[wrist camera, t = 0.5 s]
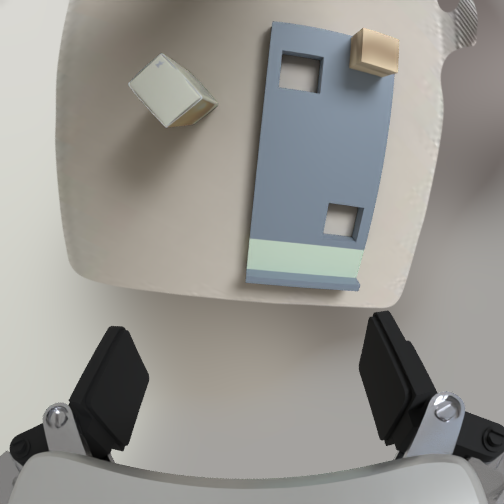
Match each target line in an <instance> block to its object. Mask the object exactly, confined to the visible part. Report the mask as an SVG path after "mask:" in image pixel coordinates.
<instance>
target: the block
mask: <svg viewBox="0 0 504 504" xmlns="http://www.w3.org/2000/svg"><path fill="white" fill-rule="evenodd" d="M398 58H399V39H396V38H393V37H390V36H388V35H385V34H382V33H379V32H376V31H372V30H369V29H366V28H362V29H361V30H360V31H359V32H357V33H356V34H355V35H354V36H353V37H351V50H350V63H349V68H351V69H355V70H358V71H362V72H366V73H369V74H373V75H376V76H380V77H385V76H388V75H392V74H395V73H398Z"/></svg>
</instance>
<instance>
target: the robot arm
mask: <svg viewBox="0 0 504 504" xmlns="http://www.w3.org/2000/svg"><path fill="white" fill-rule="evenodd" d="M359 372H360V375H361V378H362V381H363V385H364V387H365V391H366V394H367V397H368V400H369V404H370V407H371V410H372V414H373V417H374V420H375V424H376V427H377V431H378V435H379V438H380V440H385V444H386V446H388V445H392V444H395V446H396V449H397V450H398V452H397V453H396V455H395V457H394V459H393V460H392V461H388V462H383V463H379V464H375V465H370V466H366V467H360V468H356V469H350V470H344V471H338V472H332V473H326V474H318V475H310V476H300V477H289V478H272V479H222V478H205V477H194V476H184V475H176V474H168V473H162V472H155V471H150V470H144V469H139V468H134V467H130V466H125V465H120V464H116V463H115V462H114V460H113V458H112V456H111V454H110V452H111V449H115V450H120V451H124V447H125V446H126V445H128V444H129V441H130V438H131V435H132V431H133V428H134V424H135V422H136V419H137V415H138V412H139V409H140V406H141V403H142V400H143V397H144V394H145V391H146V388H147V385H148V382H149V374H148V372H147V370H146V368H145V366H144V364H143V362H142V360H141V358H140V355H139V353H138V351H137V349H136V347H135V345H134V342H133V340H132V338H131V335H130V333H129V331H127V330H125V328H124V327H120V326H111V327H109V328H108V330H107V331H106V333H105V335H104V336H103V338H102V340H101V342H100V343H99V345H98V347H97V349H96V350H95V352H94V354H93V356H92V358H91V360H90V361H89V363H88V365H87V367H86V368H85V370H84V372H83V374H82V376H81V378H80V380H79V381H78V383H77V385H76V387H75V389H74V391H73V393H72V395H71V397H70V399H69V401H70V403H69V405H67V404H64V403H55V404H53V405H51V406H50V407H49V408H48V409H46V411H45V413H44V415H43V423H42V424H40V425H38V426H36V427H34V428H32V429H30V430H28V431H25V432H23V433H21V434H19V435H17V436H16V437H14V439H13V440H12V442H11V444H10V452H8V451H6V452H5V453H3V454H2V455H1V456H0V504H504V427H503V426H502V425H500V424H498V423H495V422H492V421H489V420H487V419H484V418H481V417H479V416H476V415H473V414H471V413H468V412H465V406H464V403H463V401H462V399H461V398H460V397H459V396H458V395H456V394H454V393H452V392H440V393H437V391H436V389H435V387H434V385H433V383H432V381H431V379H430V377H429V375H428V373H427V371H426V369H425V367H424V365H423V363H422V361H421V360H420V358H419V356H418V354H417V352H416V350H415V349H414V347H413V345H412V344H411V342H410V341H406V340H405V338H404V336H403V335H402V333H401V331H400V329H399V327H398V325H397V324H396V322H395V320H394V318H393V317H392V315H391V313H390V312H389V311H383V312H376V313H374V314H373V317H370V318H369V320H368V325H367V330H366V335H365V340H364V345H363V349H362V354H361V358H360V362H359Z"/></svg>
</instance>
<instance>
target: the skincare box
mask: <svg viewBox="0 0 504 504" xmlns="http://www.w3.org/2000/svg"><path fill="white" fill-rule="evenodd" d="M128 85H129V87H130V88H131V89H132V91H133V92H134V93H135V94H136V96H137V97H138V98H139V99H140V100H141V101H142V103H143V104H144V105H145V106H146V107H147V108H148V109H149V110H150V112H151V113H152V114H153V115H154V116H155V117H156V118H157V119H158V120H159V121H160V122H161V123H162V124H163V125H164V126H165V127H166V128H168V127H176V126H185V125H193V124H195V123H196V122H197V121H199V120H200V119H201V118H203V117H204V116H205V115H207V114H208V113H209V112H210V111H212V110H213V109H214V108H215V107H217V106H218V103H217V102H216V101H215V99H214V98H213V97H212V96H211V95H210V93H209V92H208V91H207V90H206V89H205V88H204V87H203V85H202V84H201V83H200V82H199V81H198V80H197V79H196V78H195V77H194V76H193V75H192V74H191V73H190V72H189V71H187V70H186V69H184V68H183V67H182V66H180V65H179V64H177V63H176V62H175V61H173V60H172V59H170V58H169V57H167V56H166V55H164V54H163V53H160V54H159V55H158V56H157V57H156V58H154V59H153V60H152V61H151V62H150V63H149V64H147V65H146V66H145V67H144V68H143V69H142V70H141V71H140V72H139V73H138V74H137V75H136V76H135V77H134V78H133V79H132V80H131V81H130V82H129V83H128Z"/></svg>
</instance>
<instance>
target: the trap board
mask: <svg viewBox="0 0 504 504" xmlns="http://www.w3.org/2000/svg"><path fill="white" fill-rule="evenodd" d="M351 37H353V36H350V35H346V34H342V33H338V32H334V31H329V30H324V29H320V28H314V27H309V26H303V25H297V24H290V23H283V22H275V21H273V23H272V30H271V40H270V49H269V58H268V67H267V76H266V86H265V95H264V104H263V114H262V123H261V133H260V142H259V152H258V161H257V171H256V181H255V190H254V200H253V210H252V219H251V229H250V239H249V249H248V259H247V269H246V283H256V284H267V285H279V286H291V287H304V288H318V289H332V290H347V291H359V288H360V284H359V282H358V280H357V279H356V277H357V274H358V270H359V267H360V263H361V260H362V256H363V252H364V249H365V245H366V241H367V237H368V233H369V229H370V225H371V221H372V216H373V212H374V208H375V203H376V198H377V194H378V189H379V184H380V179H381V173H382V168H383V162H384V157H385V150H386V144H387V137H388V130H389V123H390V115H391V106H392V97H393V86H394V74H392V75H388V76H385V77H380V76H376V75H373V74H369V73H366V72H362V71H358V70H355V69H351V68H349V63H350V50H351ZM282 54H285V55H292V56H299V57H305V58H311V59H316V60H320V71H319V81H318V90H317V93H312V92H306V91H300V90H293V89H286V88H279V79H280V69H281V60H282ZM329 203H334V204H341V205H348V206H355V207H359V208H358V212H357V217H356V221H355V226H354V230H353V235H352V237H348V236H339V235H331V234H323V231H324V226H325V221H326V215H327V210H328V205H329Z"/></svg>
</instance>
